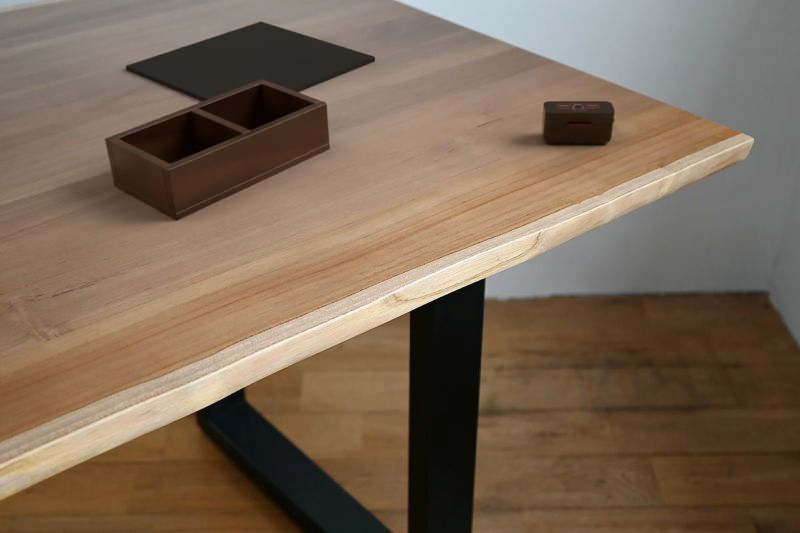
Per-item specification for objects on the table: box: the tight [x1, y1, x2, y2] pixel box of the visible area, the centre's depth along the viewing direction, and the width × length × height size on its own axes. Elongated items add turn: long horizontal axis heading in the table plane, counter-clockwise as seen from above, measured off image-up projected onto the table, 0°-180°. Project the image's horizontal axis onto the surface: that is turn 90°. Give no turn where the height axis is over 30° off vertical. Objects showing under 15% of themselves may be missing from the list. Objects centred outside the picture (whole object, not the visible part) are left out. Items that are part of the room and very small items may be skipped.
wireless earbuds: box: [541, 100, 616, 144], centre depth 85 cm, size 5×7×3 cm, turn 88°
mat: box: [125, 21, 376, 102], centre depth 103 cm, size 20×20×1 cm
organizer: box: [104, 79, 331, 221], centre depth 81 cm, size 9×17×5 cm, turn 138°
